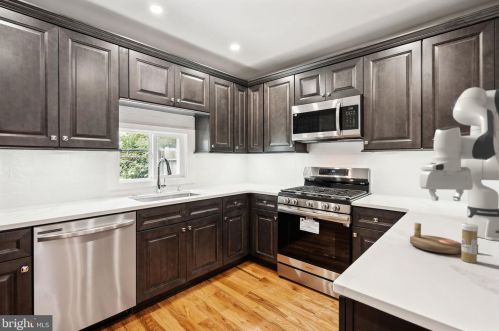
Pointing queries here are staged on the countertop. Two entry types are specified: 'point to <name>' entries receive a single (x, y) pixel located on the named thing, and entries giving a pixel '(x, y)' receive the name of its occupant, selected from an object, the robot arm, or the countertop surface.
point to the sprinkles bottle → (469, 243)
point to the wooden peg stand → (434, 242)
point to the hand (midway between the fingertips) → (445, 200)
